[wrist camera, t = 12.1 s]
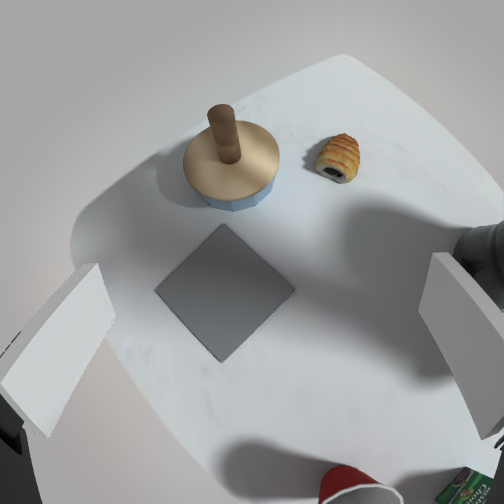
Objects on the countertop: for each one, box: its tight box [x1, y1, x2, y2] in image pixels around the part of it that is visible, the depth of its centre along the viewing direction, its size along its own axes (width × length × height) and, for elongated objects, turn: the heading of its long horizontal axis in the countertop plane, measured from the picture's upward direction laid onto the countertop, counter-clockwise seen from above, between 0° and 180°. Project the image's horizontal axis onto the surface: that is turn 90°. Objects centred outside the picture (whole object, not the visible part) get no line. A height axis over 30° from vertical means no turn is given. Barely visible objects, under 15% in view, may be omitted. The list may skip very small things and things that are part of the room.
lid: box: [183, 104, 279, 201], centre depth 37 cm, size 14×14×10 cm
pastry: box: [315, 133, 360, 183], centre depth 45 cm, size 9×7×4 cm
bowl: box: [198, 177, 275, 212], centre depth 44 cm, size 12×12×4 cm
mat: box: [155, 224, 295, 363], centre depth 41 cm, size 14×14×1 cm
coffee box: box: [435, 467, 493, 504], centre depth 21 cm, size 8×3×13 cm, turn 133°
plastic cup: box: [318, 466, 404, 504], centre depth 25 cm, size 11×11×12 cm
